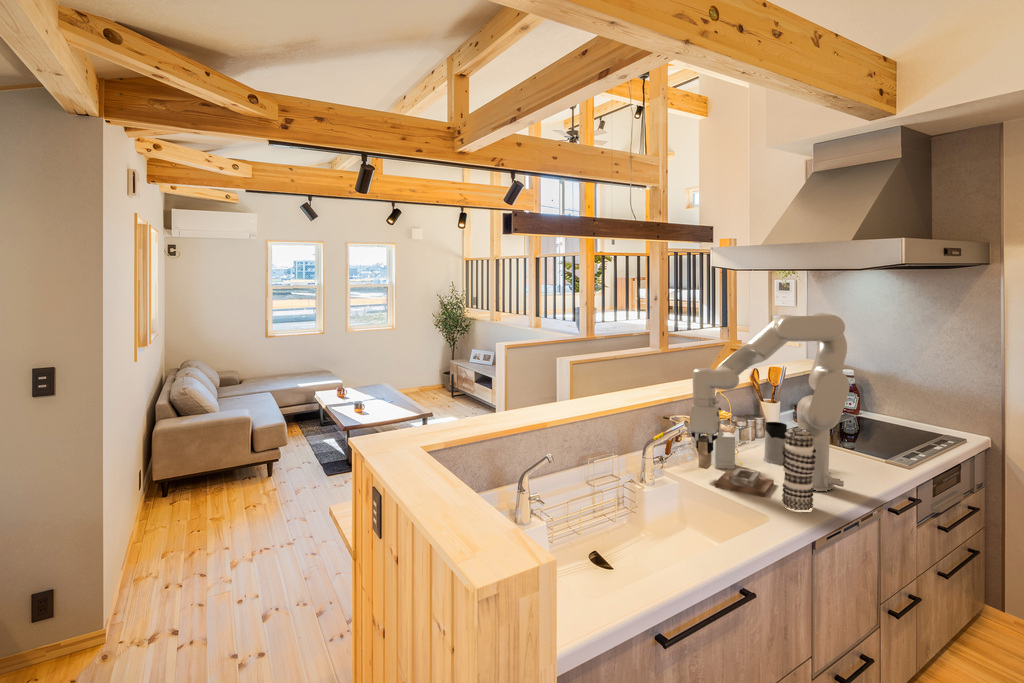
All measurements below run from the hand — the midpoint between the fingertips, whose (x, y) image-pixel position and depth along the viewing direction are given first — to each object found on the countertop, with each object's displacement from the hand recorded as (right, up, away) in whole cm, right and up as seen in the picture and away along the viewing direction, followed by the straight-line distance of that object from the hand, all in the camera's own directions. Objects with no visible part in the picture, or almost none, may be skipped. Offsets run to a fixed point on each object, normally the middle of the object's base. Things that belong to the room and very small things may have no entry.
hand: (704, 451), depth 185 cm
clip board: (+11, -11, -7) cm, 17 cm away
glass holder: (+38, -8, +17) cm, 42 cm away
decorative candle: (+19, -12, -26) cm, 34 cm away
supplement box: (+12, -9, +14) cm, 21 cm away
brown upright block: (0, -6, 0) cm, 6 cm away
